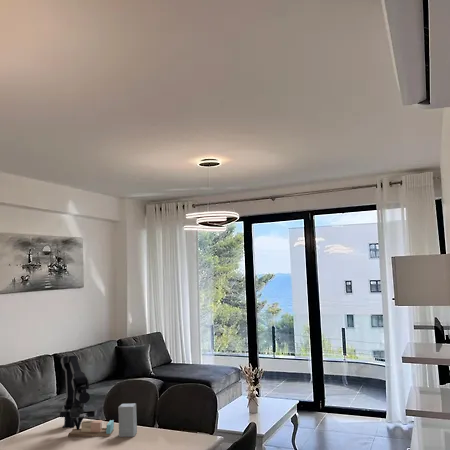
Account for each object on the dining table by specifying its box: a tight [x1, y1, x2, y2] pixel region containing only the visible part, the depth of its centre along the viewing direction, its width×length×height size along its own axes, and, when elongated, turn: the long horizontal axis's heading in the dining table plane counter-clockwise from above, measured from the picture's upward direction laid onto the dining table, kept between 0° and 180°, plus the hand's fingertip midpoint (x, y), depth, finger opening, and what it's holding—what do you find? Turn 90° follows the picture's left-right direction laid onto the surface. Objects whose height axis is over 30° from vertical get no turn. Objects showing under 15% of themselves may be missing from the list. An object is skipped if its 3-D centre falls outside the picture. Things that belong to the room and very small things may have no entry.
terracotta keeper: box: [91, 419, 103, 432], centre depth 249 cm, size 4×5×5 cm
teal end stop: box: [106, 419, 115, 434], centre depth 249 cm, size 9×2×4 cm, turn 2°
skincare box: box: [117, 402, 138, 438], centre depth 246 cm, size 8×7×16 cm
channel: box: [67, 427, 115, 438], centre depth 248 cm, size 9×22×2 cm, turn 92°
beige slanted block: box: [80, 419, 94, 432], centre depth 249 cm, size 4×5×5 cm
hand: (77, 429), depth 248 cm, fingers closed
